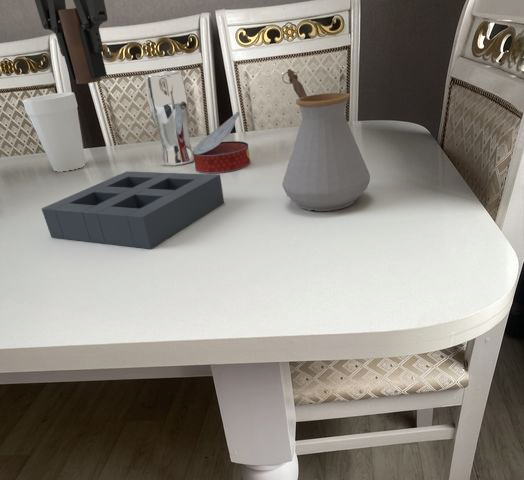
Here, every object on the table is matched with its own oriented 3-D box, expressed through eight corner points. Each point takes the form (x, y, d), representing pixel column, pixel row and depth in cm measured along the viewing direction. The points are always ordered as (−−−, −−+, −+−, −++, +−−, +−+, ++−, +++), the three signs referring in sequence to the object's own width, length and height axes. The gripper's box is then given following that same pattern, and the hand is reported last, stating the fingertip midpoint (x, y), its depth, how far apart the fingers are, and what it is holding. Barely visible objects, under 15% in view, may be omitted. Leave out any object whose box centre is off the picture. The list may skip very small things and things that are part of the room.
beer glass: (174, 156, 104) (158, 71, 96) (204, 156, 101) (190, 68, 93) (153, 166, 99) (134, 77, 90) (184, 166, 96) (167, 74, 88)
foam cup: (101, 159, 108) (82, 90, 101) (80, 172, 101) (59, 98, 94) (59, 162, 110) (38, 95, 103) (36, 175, 103) (12, 103, 96)
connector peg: (72, 84, 85) (52, 11, 79) (89, 80, 88) (70, 9, 82) (90, 83, 83) (71, 8, 78) (107, 79, 86) (89, 6, 80)
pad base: (51, 237, 71) (41, 208, 68) (132, 197, 83) (126, 171, 81) (151, 249, 63) (143, 216, 61) (224, 202, 75) (220, 174, 73)
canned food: (239, 197, 92) (221, 152, 83) (192, 188, 96) (171, 144, 88) (266, 151, 96) (252, 104, 87) (220, 144, 100) (203, 98, 91)
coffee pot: (384, 206, 67) (386, 74, 58) (296, 222, 65) (287, 89, 57) (330, 168, 84) (326, 63, 76) (260, 180, 83) (249, 74, 75)
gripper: (-24, -102, 73) (34, 84, 86) (64, -129, 66) (113, 78, 79) (19, -97, 79) (67, 77, 91) (105, -122, 71) (144, 71, 84)
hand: (88, 77), depth 85 cm, fingers closed on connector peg, 4 cm apart
